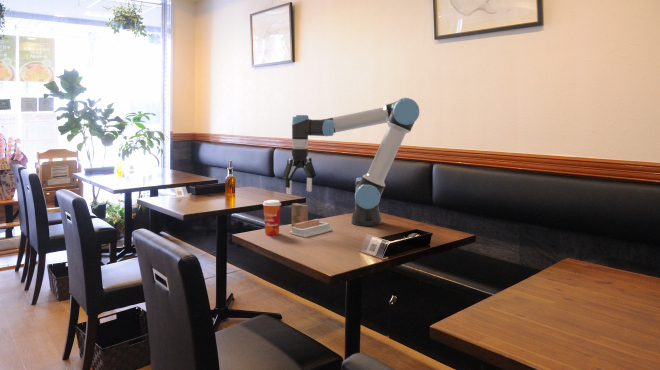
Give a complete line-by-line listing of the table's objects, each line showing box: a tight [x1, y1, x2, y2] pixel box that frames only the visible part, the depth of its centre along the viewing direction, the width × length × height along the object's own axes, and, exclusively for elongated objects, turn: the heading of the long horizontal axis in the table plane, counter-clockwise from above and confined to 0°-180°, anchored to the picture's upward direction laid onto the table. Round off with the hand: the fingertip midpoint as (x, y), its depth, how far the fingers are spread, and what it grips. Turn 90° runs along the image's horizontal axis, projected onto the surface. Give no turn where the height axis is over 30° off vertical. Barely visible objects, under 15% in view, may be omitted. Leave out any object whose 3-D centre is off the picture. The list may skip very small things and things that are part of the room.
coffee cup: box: [262, 199, 282, 236], centre depth 218 cm, size 8×8×15 cm
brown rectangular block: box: [291, 202, 309, 228], centre depth 232 cm, size 8×3×11 cm, turn 49°
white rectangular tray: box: [289, 218, 333, 238], centre depth 224 cm, size 18×10×4 cm, turn 139°
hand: (299, 192), depth 231 cm, fingers open, 13 cm apart
